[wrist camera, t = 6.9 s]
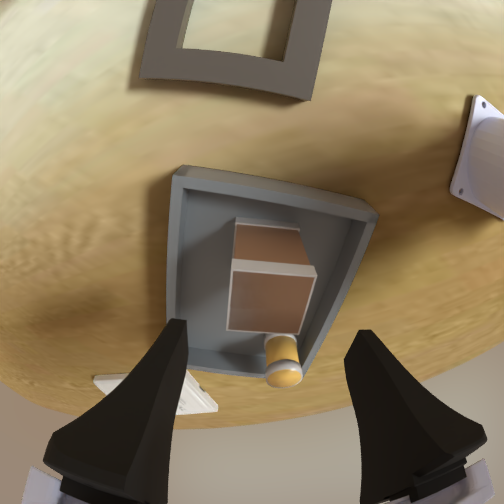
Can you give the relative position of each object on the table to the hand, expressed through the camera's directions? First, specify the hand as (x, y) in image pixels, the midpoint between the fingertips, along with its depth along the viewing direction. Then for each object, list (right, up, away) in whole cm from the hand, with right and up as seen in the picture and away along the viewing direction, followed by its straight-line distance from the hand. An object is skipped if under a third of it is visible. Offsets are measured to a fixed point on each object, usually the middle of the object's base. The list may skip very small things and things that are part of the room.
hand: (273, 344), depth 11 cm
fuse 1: (0, +4, +6) cm, 8 cm away
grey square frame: (-1, +16, 0) cm, 17 cm away
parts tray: (-1, +1, +8) cm, 9 cm away
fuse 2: (+1, -3, +11) cm, 11 cm away
